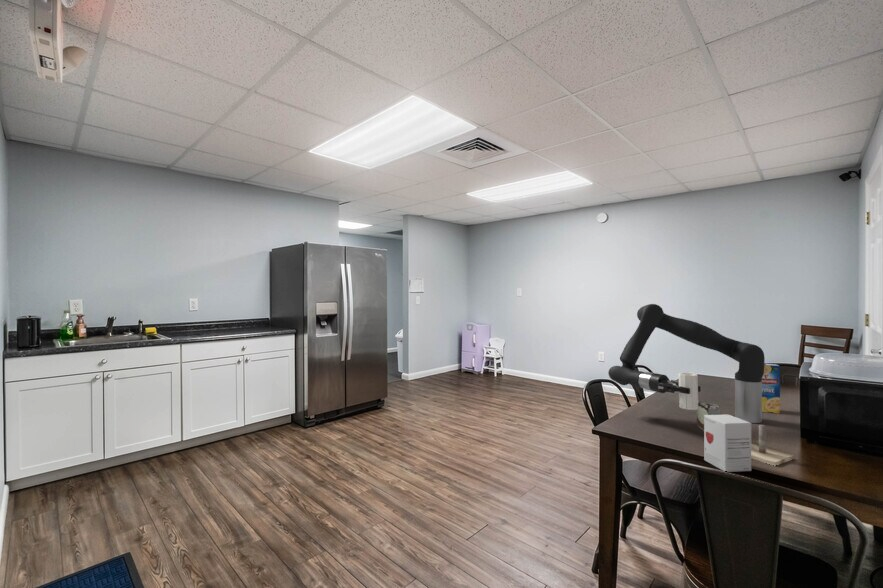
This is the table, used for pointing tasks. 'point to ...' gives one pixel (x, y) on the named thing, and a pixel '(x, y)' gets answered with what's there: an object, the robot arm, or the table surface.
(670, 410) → the table surface
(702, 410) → the food container
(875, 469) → the table surface
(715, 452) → the supplement box
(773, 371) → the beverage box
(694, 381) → the roll
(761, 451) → the stand
